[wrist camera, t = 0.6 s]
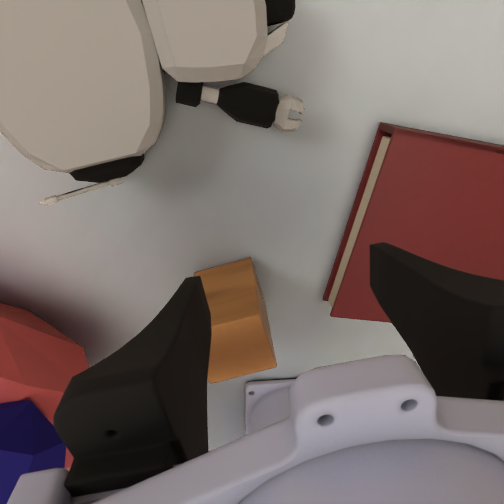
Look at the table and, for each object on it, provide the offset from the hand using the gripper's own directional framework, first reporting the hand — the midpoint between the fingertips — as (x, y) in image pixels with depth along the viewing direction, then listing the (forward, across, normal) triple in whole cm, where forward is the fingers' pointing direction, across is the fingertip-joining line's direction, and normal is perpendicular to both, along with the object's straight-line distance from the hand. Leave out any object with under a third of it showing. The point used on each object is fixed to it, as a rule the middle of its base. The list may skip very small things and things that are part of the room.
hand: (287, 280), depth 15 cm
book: (+9, -14, +5) cm, 18 cm away
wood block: (+9, +3, +6) cm, 12 cm away
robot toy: (+9, +5, -10) cm, 15 cm away
